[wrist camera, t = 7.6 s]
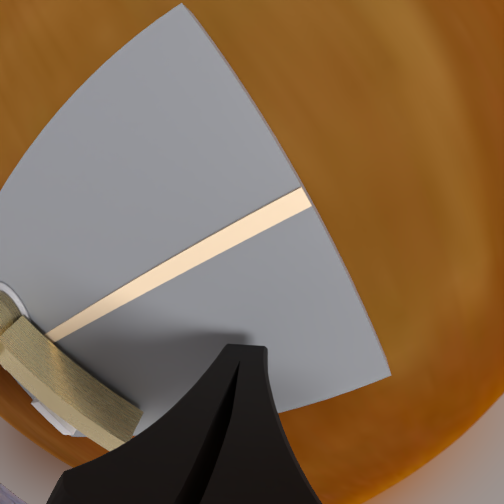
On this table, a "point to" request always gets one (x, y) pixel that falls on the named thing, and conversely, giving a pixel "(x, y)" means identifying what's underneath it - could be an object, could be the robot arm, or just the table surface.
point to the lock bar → (63, 382)
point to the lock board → (177, 236)
